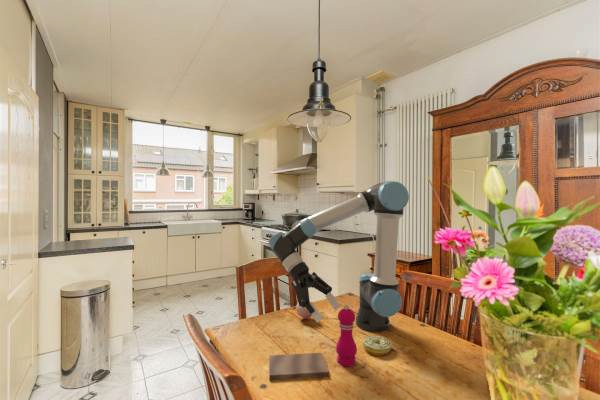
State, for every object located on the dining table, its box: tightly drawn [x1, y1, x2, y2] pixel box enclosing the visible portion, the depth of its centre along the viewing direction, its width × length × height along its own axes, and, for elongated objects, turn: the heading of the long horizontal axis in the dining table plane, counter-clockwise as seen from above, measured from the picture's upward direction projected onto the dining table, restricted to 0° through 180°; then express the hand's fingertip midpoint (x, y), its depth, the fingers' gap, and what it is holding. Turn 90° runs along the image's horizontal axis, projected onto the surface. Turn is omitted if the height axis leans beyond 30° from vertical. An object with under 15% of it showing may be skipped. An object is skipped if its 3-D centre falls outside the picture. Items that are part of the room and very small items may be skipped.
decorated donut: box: [362, 335, 393, 357], centre depth 112 cm, size 10×11×4 cm
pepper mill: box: [335, 304, 358, 367], centre depth 103 cm, size 7×7×20 cm
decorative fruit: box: [295, 303, 313, 320], centre depth 140 cm, size 9×8×10 cm
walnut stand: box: [268, 352, 330, 381], centre depth 99 cm, size 19×12×2 cm, turn 96°
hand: (329, 314), depth 106 cm, fingers open, 13 cm apart
